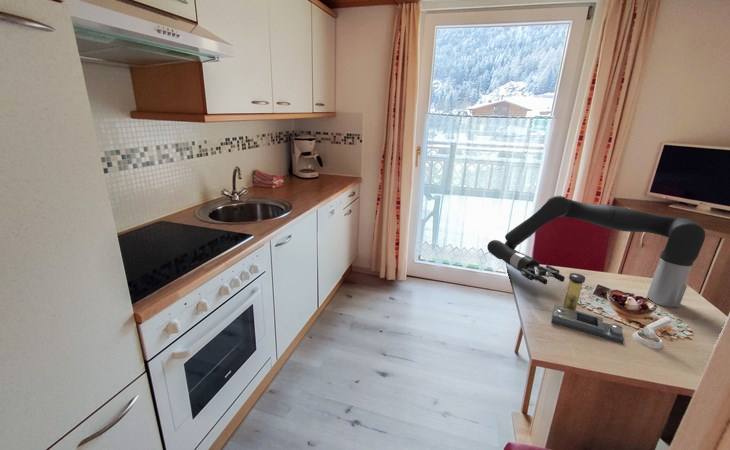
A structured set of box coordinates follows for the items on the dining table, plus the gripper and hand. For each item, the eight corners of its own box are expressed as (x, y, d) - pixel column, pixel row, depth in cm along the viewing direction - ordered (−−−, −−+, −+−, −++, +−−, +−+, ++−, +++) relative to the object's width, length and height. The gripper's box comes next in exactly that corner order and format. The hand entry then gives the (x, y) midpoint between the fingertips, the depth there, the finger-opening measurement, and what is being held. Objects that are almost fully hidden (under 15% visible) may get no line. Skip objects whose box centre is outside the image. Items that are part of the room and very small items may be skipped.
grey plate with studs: (620, 331, 110) (622, 322, 109) (622, 344, 103) (625, 335, 102) (552, 312, 120) (554, 303, 119) (551, 322, 113) (553, 314, 112)
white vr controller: (693, 341, 98) (676, 328, 97) (652, 358, 104) (636, 346, 103) (679, 322, 104) (663, 310, 103) (642, 340, 110) (626, 328, 110)
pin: (576, 309, 122) (585, 275, 118) (576, 315, 118) (585, 280, 114) (561, 305, 125) (569, 271, 120) (561, 311, 121) (569, 276, 116)
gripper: (511, 257, 138) (542, 274, 123) (538, 254, 142) (571, 269, 127) (508, 273, 140) (538, 292, 125) (535, 269, 144) (567, 287, 130)
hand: (555, 280), depth 126 cm, fingers open, 8 cm apart
